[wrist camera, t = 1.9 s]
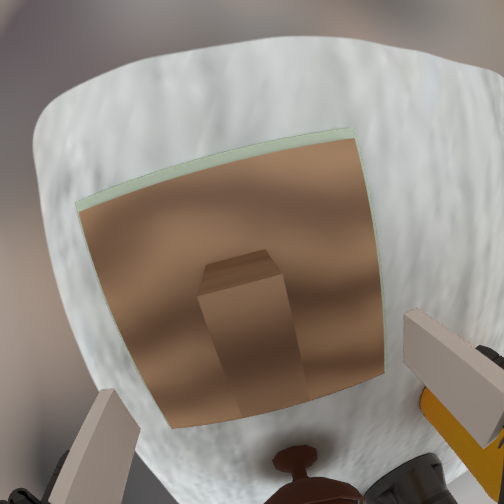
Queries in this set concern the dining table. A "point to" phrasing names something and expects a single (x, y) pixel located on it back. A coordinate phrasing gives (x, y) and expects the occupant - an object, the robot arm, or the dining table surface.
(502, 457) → the yellow bottle
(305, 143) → the green mat
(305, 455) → the ice cream bowl
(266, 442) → the dining table surface
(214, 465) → the dining table surface
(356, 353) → the walnut cover
